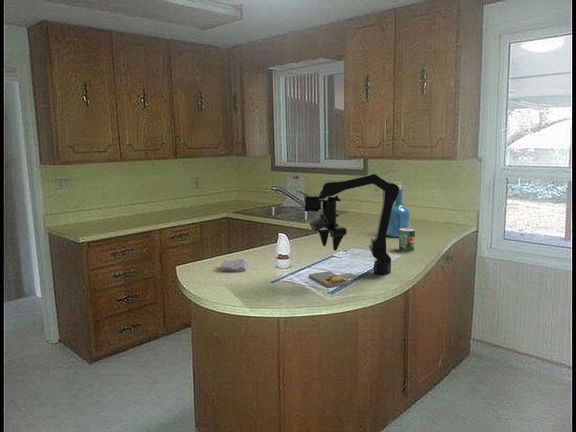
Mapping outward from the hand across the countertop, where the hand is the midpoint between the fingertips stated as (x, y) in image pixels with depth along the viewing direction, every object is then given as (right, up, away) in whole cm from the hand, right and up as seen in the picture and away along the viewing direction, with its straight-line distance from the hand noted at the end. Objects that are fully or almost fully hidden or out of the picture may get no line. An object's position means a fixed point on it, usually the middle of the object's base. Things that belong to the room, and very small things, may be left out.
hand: (329, 248), depth 199 cm
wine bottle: (+48, +2, +82) cm, 95 cm away
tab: (+8, -12, -2) cm, 15 cm away
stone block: (-42, -11, +15) cm, 46 cm away
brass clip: (+1, -14, -12) cm, 19 cm away
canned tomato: (+44, -4, +45) cm, 63 cm away
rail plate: (-1, -13, -8) cm, 16 cm away
